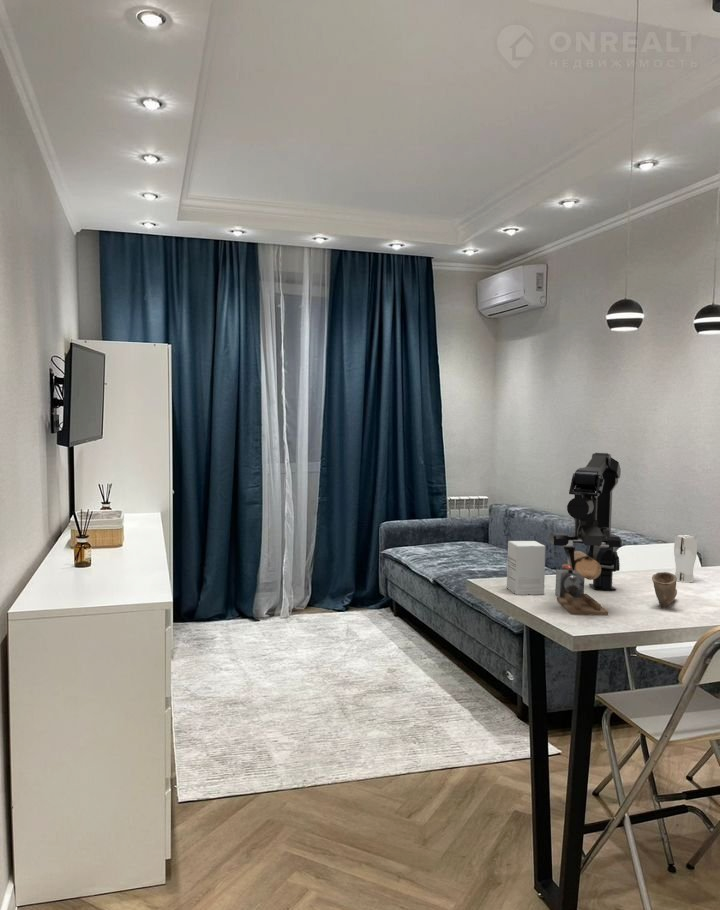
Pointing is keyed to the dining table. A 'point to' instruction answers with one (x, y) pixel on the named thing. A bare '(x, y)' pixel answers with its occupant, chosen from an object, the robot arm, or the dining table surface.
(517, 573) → the supplement box
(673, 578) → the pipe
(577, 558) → the tan rounded oblong piece
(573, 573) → the valve block
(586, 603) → the pipe cradle
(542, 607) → the dining table surface
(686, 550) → the beer glass
